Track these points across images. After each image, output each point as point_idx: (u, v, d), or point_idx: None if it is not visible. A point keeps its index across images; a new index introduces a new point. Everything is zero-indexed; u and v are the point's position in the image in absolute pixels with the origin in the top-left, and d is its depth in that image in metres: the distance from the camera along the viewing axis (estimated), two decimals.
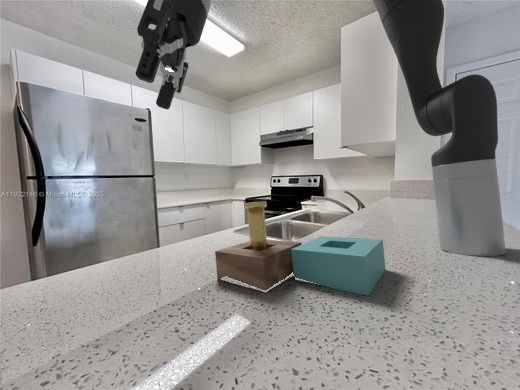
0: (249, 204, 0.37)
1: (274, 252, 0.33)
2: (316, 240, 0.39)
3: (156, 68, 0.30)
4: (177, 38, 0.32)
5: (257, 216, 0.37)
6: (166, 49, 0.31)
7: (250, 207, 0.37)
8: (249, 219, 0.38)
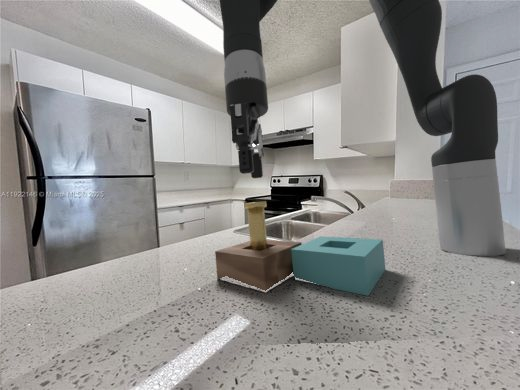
0: (249, 204, 0.37)
1: (274, 252, 0.33)
2: (316, 240, 0.39)
3: (252, 159, 0.34)
4: (255, 122, 0.36)
5: (257, 216, 0.37)
6: (252, 138, 0.35)
7: (250, 207, 0.37)
8: (249, 219, 0.38)
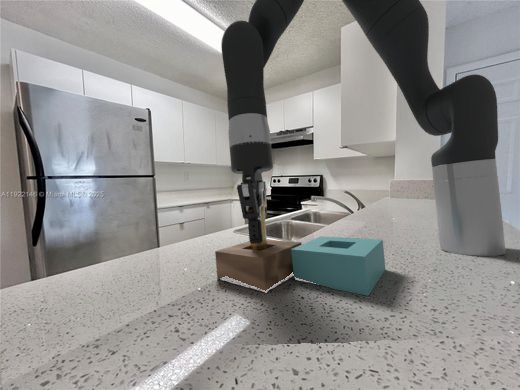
0: None
1: (274, 252, 0.33)
2: (316, 240, 0.39)
3: (261, 230, 0.36)
4: (260, 187, 0.36)
5: None
6: (260, 207, 0.36)
7: (250, 207, 0.37)
8: None
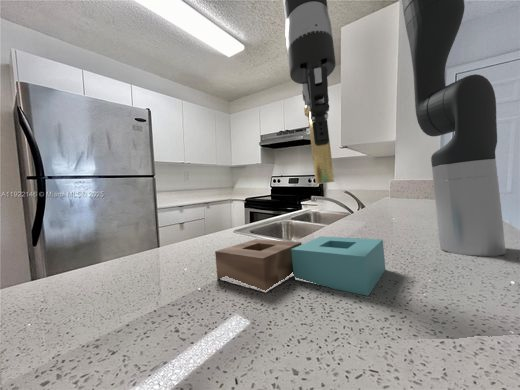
0: None
1: (274, 252, 0.33)
2: (316, 240, 0.39)
3: (327, 130, 0.34)
4: None
5: None
6: None
7: None
8: (311, 122, 0.35)
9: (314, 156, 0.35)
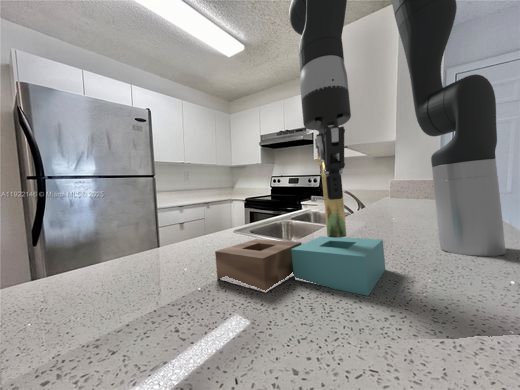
0: None
1: (274, 252, 0.33)
2: (316, 240, 0.39)
3: (341, 185, 0.33)
4: None
5: None
6: None
7: None
8: None
9: (326, 209, 0.35)
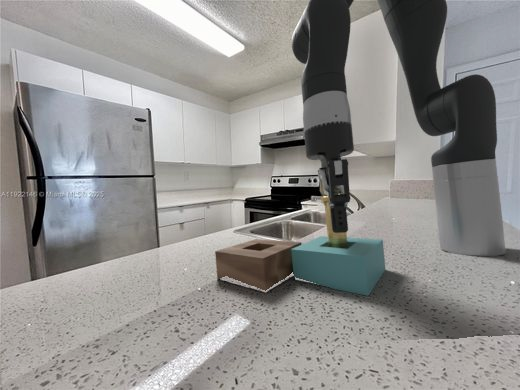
0: None
1: (274, 252, 0.33)
2: (316, 240, 0.39)
3: (346, 217, 0.32)
4: None
5: None
6: None
7: None
8: (329, 214, 0.34)
9: None
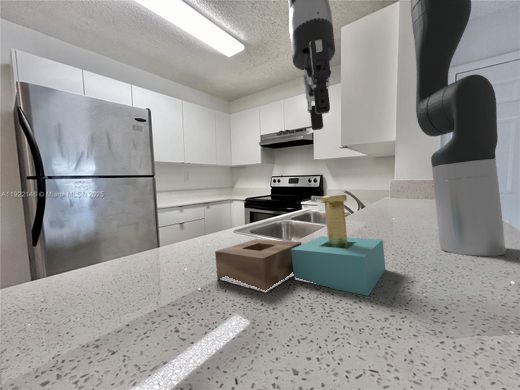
0: (331, 197, 0.34)
1: (274, 252, 0.33)
2: (316, 240, 0.39)
3: (328, 98, 0.34)
4: None
5: (339, 210, 0.34)
6: None
7: (332, 201, 0.33)
8: (329, 214, 0.34)
9: None
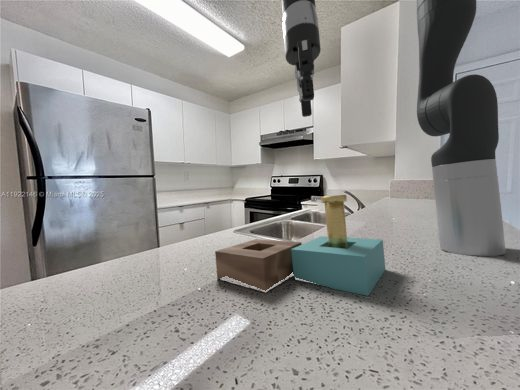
0: (331, 197, 0.34)
1: (274, 252, 0.33)
2: (316, 240, 0.39)
3: (313, 88, 0.42)
4: None
5: (339, 210, 0.34)
6: None
7: (332, 201, 0.33)
8: (329, 214, 0.34)
9: None
